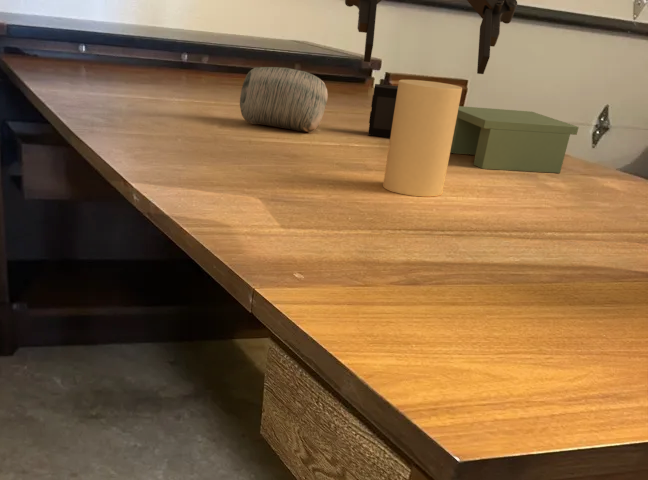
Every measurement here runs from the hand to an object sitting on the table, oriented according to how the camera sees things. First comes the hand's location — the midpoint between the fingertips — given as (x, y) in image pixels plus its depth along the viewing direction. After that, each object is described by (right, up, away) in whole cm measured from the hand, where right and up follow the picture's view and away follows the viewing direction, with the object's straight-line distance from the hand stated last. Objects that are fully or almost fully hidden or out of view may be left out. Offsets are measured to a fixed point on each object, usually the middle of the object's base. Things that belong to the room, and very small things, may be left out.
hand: (425, 59), depth 96 cm
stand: (+15, -1, +23) cm, 28 cm away
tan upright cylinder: (-2, -15, 0) cm, 15 cm away
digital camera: (+2, +7, +34) cm, 35 cm away
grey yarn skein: (-17, +7, +31) cm, 36 cm away
